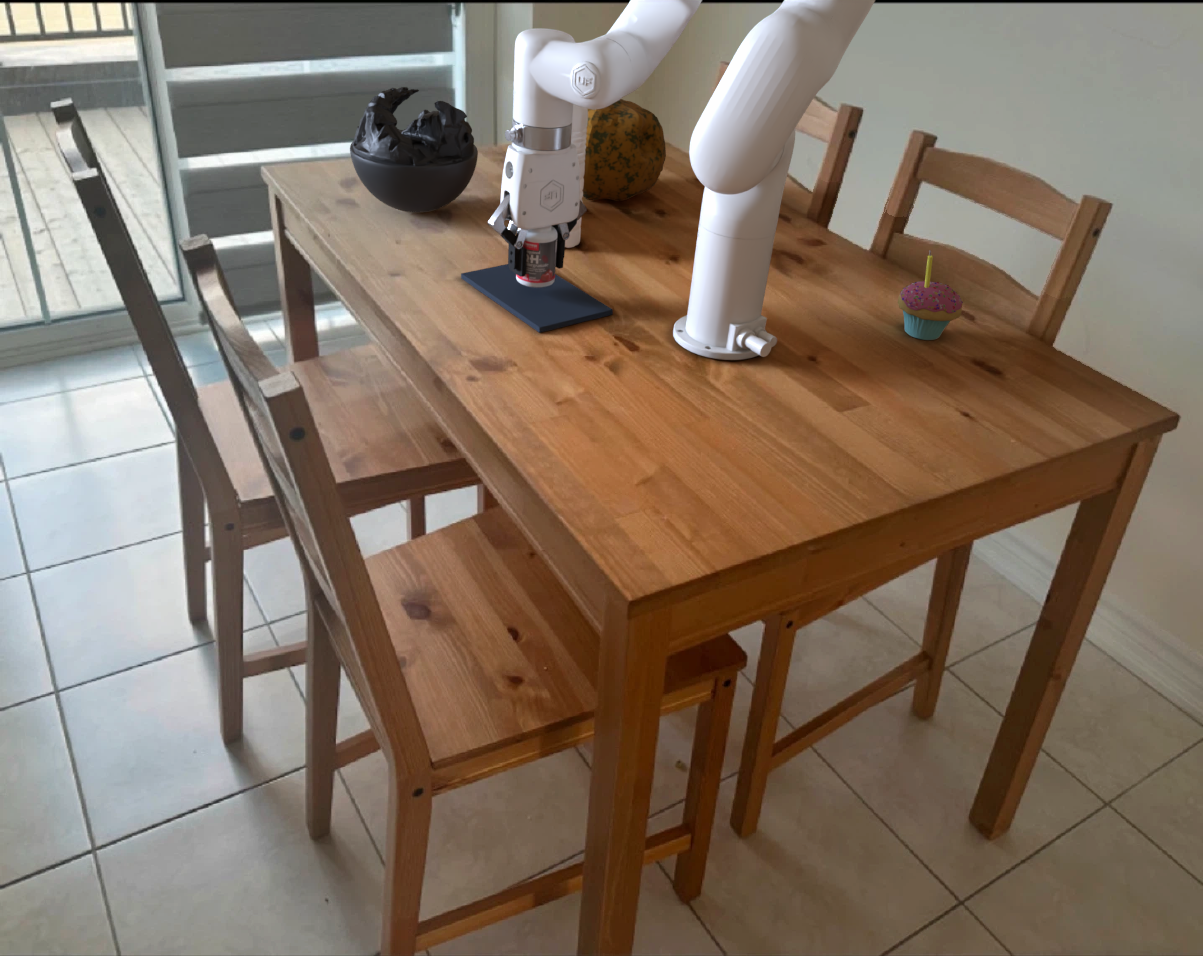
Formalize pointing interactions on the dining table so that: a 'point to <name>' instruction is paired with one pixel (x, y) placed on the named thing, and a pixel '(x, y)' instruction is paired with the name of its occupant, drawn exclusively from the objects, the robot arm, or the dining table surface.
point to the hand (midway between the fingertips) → (536, 267)
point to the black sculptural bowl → (413, 154)
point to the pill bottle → (540, 257)
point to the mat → (537, 299)
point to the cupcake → (928, 306)
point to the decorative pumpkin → (622, 151)
